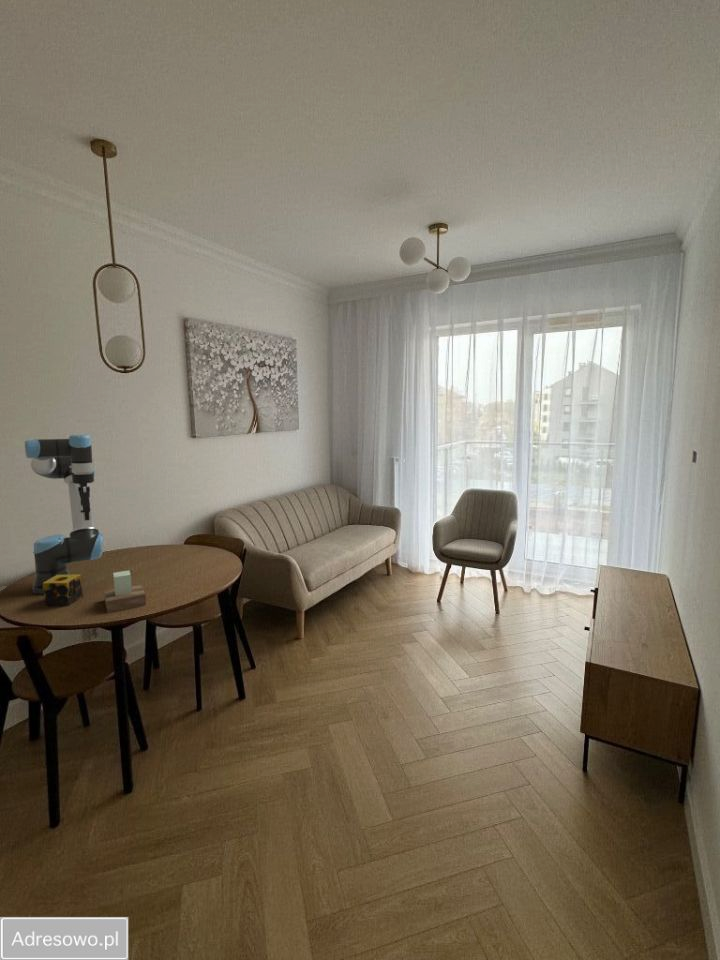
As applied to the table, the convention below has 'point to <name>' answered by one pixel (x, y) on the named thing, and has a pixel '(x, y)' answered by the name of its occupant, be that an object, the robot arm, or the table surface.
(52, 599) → the candle
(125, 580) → the sage block
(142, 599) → the walnut block
